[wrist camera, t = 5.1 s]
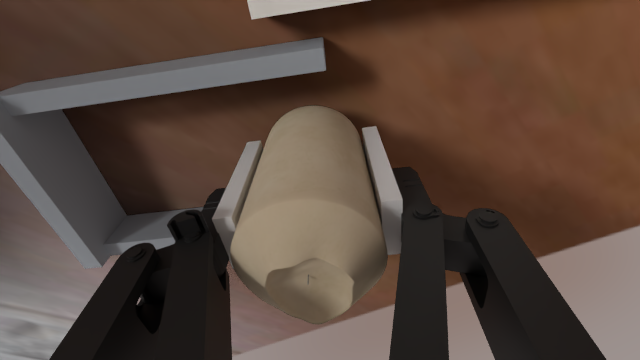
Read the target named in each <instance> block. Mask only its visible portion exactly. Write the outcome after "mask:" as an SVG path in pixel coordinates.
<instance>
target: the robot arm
mask: <svg viewBox="0 0 640 360" xmlns="http://www.w3.org/2000/svg"><path fill="white" fill-rule="evenodd" d="M362 136H363V149H364V153H365V157H366V162H367V166H368V170H369V174H370V178H371V183H372V187H373V191H374V195H375V199H376V203H377V208H378V212H379V216H380V220H381V224H382V229H383V233H384V237H385V241H386V246H387V254H388V255H392V254H400V263H399V273H398V282H397V291H396V301H395V310H394V319H393V329H392V339H391V347H390V357H389V360H449V353H448V352H449V351H448V327H447V305H446V280H445V270H450V271H456V272H460V275H461V277H462V280H463V282H464V285H465V287H466V289H467V292H468V295H469V297H470V299H471V302H472V304H473V307H474V309H475V312H476V314H477V316H478V319H479V321H480V324H481V326H482V329H483V331H484V334H485V336H486V338H487V341H488V343H489V346H490V348H491V350H492V353H493V355H494V358H495V360H606V358H605V357H604V355H603V354H602V353H601V351H600V350H599V348H598V347H597V345H596V344H595V343H594V341H593V340H592V339H591V337H590V335H589V334H588V333H587V331H586V330H585V328H584V327H583V325H582V324H581V322H580V321H579V320H578V318H577V317H576V316H575V314H574V313H573V311H572V310H571V308H570V307H569V305H568V304H567V303H566V301H565V300H564V299H563V297H562V296H561V294H560V292H558V290H557V288H556V287H555V285H554V284H553V282H552V281H551V280H550V278H549V277H548V275H547V274H546V272H545V271H544V270H543V268H542V267H541V265H540V264H539V262H538V261H537V260H536V258H535V257H534V255H533V254H532V252H531V251H530V250H529V248H528V247H527V245H526V244H525V242H524V241H523V240H522V238H521V237H520V235H519V234H518V232H517V231H516V230H515V228H514V227H513V225H512V224H511V222H510V221H509V220H508V218H507V217H506V216H504V215H503V214H502V213H500V212H498V211H496V210H492V209H487V208H479V209H474V210H472V211H470V212H469V213H468V215H467V217H466V218H463V217H454V216H449V215H446V214H443V213H442V211H441V210H440V209H439V208H438V207H437V206H435V205H433V204H432V203H431V201H430V199H429V197H428V195H427V193H426V190H425V188H424V186H423V185H422V182H421V180H420V178H419V176H418V174H417V172H416V171H414V170H413V169H412V168H410V167H402V168H393V169H391V166H390V163H389V160H388V158H387V155H386V152H385V149H384V146H383V144H382V141H381V138H380V135H379V133H378V130H377V127H376V126H373V127H365V128H362ZM262 152H263V147H262V143H261V140H260V141H252V142H247V144H246V146H245V148H244V151H243V153H242V155H241V157H240V159H239V161H238V164H237V166H236V168H235V170H234V172H233V174H232V177H231V179H230V181H229V183H228V185H227V187H226V188H221V189H216V190H215V191H214V192H213V193H212V194H211V195H210V196H209V197H208V199H207V201H206V204H205V205H204V207H203V210H202V211H201V212H200V211H199V210H194V209H192V210H186V211H183V212H181V213H179V214H177V215H175V216H174V217H173V218H171V219H170V220H169V222H168V224H167V227H168V229H169V230H170V232H171V234H172V236H173V238H174V240H175V244H172V245H170V246H167V247H164V248H160V249H157V250H156V249H155V247H154V245H153V244H151V243H140V244H137V245H134V246H132V247H130V248H129V249H127V250H126V251H125V252H123V254H122V255H121V256H120V257H119V258H118V260H117V261H116V263H115V264H114V266H113V267H112V268H111V270H110V271H109V273H108V274H107V276H106V277H105V279H104V280H103V282H102V283H101V285H100V286H99V288H98V289H97V290H96V292H95V293H94V295H93V296H92V298H91V299H90V301H89V302H88V304H87V305H86V307H85V308H84V309H83V311H82V312H81V314H80V315H79V317H78V318H77V320H76V321H75V323H74V324H73V326H72V327H71V329H70V330H69V331H68V333H67V334H66V336H65V337H64V339H63V340H62V342H61V343H60V345H59V346H58V348H57V349H56V350H55V352H54V353H53V355H52V356H51V358H50V359H49V360H232V347H231V318H230V289H229V275H228V272H227V269H226V267H227V264H228V261H230V264H231V266H232V268H233V265H232V261H231V257H230V248H231V242H232V239H233V236H234V233H235V230H236V227H237V224H238V221H239V219H240V216H241V213H242V210H243V207H244V204H245V201H246V198H247V195H248V193H249V190H250V187H251V184H252V181H253V178H254V175H255V172H256V169H257V167H258V164H259V161H260V158H261V155H262ZM233 269H234V268H233ZM139 297H140V298H141V300H140V302H139V304H138V305H136V304H137V301H138V299H139Z"/></svg>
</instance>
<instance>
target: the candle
mask: <svg viewBox="0 0 640 360" xmlns="http://www.w3.org/2000/svg"><path fill="white" fill-rule="evenodd" d="M230 257H231V261H232V265H233V268H234V270H235V272H236V274H237V275H238V277H239V278H240V279H241V281H242V282H243V283H244V284H245V285H246V286H247V288H249V289H250V290H251V291H252V292H253V293H254V294H255V295H257V296H258V297H259V298H260V299H262V300H263V301H265V302H266V303H268V304H270V305H272V306H274V307H275V308H277V309H279V310H281V311H283V312H284V313H286V314H288V315H290V316H292V317H295V318H299V319H302V320H304V321H306V322H309V323H312V324H323V323H326V322H328V321H330V320H332V319H333V318H335V317H337V316H339V315H341V314H343V313H344V312H346V311H347V310H348V309H349V308H350V307H351V306H352V305H353V304H354V303H355V302H357V301H358V300H359V299H360V298H361V297H362V296H364V295H365V294H366V293H367V292H368V291H369V290H370V289H371V288H372V287H373V286H374V285H375V284H376V283H377V282H378V281H379V279H380V278H381V276H382V274H383V273H384V270H385V267H386V264H387V258H388V254H387V246H386V241H385V237H384V233H383V229H382V224H381V220H380V216H379V212H378V208H377V203H376V199H375V195H374V191H373V187H372V183H371V178H370V174H369V170H368V166H367V162H366V157H365V153H364V149H363V145H362V142H361V138H360V136H359V133H358V131H357V129H356V128H355V126H354V125H353V124H352V122H351V121H350V120H349V119H348V118H347V117H346V116H344V115H343V114H342V113H340V112H338V111H336V110H334V109H331V108H328V107H325V106H318V105H310V106H303V107H299V108H296V109H294V110H291V111H290V112H288V113H286V114H285V115H284V116H282V117H281V118H280V119H279V120H278V121H277V122H276V123H275V125H274V126H273V128H272V129H271V131H270V133H269V136H268V138H267V141H266V144H265V146H264V149H263V152H262V155H261V158H260V161H259V164H258V167H257V169H256V172H255V175H254V178H253V181H252V184H251V187H250V190H249V193H248V195H247V198H246V201H245V204H244V207H243V210H242V213H241V216H240V219H239V221H238V224H237V227H236V230H235V233H234V236H233V239H232V242H231V248H230Z"/></svg>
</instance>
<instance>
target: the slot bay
mask: <svg viewBox="0 0 640 360" xmlns="http://www.w3.org/2000/svg"><path fill="white" fill-rule="evenodd" d="M320 71H326V58H325V49H324V41H323V37H320V38H313V39H307V40H300V41H294V42H287V43H281V44H274V45H268V46H261V47H255V48H248V49H242V50H235V51H229V52H222V53H216V54H209V55H203V56H196V57H190V58H183V59H177V60H170V61H164V62H157V63H151V64H145V65H138V66H132V67H125V68H119V69H112V70H106V71H99V72H93V73H86V74H80V75H73V76H67V77H60V78H54V79H47V80H41V81H34V82H28V83H23V84H20V85H17V86H14V87H12V88H9V89H6V90H3V91H0V164H1V165H2V166H3V168H4V169H5V170H6V171H7V172H8V174H9V175H10V176H11V177H12V179H13V180H14V181H15V182H16V184H17V185H18V186H19V187H20V189H21V190H22V191H23V192H24V194H25V195H26V196H27V197H28V199H29V200H30V201H31V202H32V204H33V205H34V206H35V207H36V208H37V210H38V211H39V212H40V213H41V215H42V216H43V217H44V218H45V220H46V221H47V222H48V223H49V225H50V226H51V227H52V228H53V230H54V231H55V232H56V233H57V235H58V236H59V237H60V238H61V240H62V241H63V242H64V243H65V244H66V246H67V247H68V248H69V249H70V251H71V252H72V253H73V254H74V256H75V257H76V258H77V259H78V261H79V262H80V263H81V264H82V266H83V267H84V268H85V269H86V268H96V267H102V266H103V265H104V264H105V262H106V261H107V260H108V259H109V257H110V256H111V255H120V254H123V252H125V251H126V250H127V249H129V248H130V247H132V246H134V245H137V244H140V243H151V244H153V245H154V247H155V249H156V250H157V249H160V248H164V247H167V246H170V245H172V244H175V240H174V238H173V236H172V234H171V232H170V230H169V229H168V227H167V224H168V222H169V220H170V219H171V218H173V217H174V216H175V215H177V214H179V213H181V212H183V211H186V210H192V209H194V210H199V211H200V212H201V211H202V210H203V207H199V208H190V209H181V210H173V211H164V212H155V213H146V214H137V215H129V216H127V215H126V213H125V211H124V210H123V208H122V207H121V205H120V203H119V202H118V200H117V198H116V197H115V195H114V194H113V192H112V190H111V189H110V187H109V185H108V184H107V182H106V181H105V179H104V177H103V176H102V174H101V172H100V171H99V169H98V168H97V166H96V164H95V163H94V161H93V159H92V158H91V156H90V155H89V153H88V151H87V150H86V148H85V146H84V145H83V143H82V142H81V140H80V138H79V137H78V135H77V133H76V132H75V130H74V129H73V127H72V125H71V124H70V122H69V120H68V119H67V117H66V116H65V114H64V112H63V111H62V109H65V108H72V107H79V106H86V105H92V104H99V103H106V102H113V101H120V100H127V99H134V98H141V97H148V96H154V95H161V94H168V93H175V92H182V91H189V90H196V89H203V88H209V87H216V86H223V85H230V84H237V83H244V82H251V81H258V80H265V79H271V78H278V77H285V76H292V75H299V74H306V73H313V72H320Z"/></svg>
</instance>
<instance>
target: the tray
mask: <svg viewBox="0 0 640 360" xmlns="http://www.w3.org/2000/svg"><path fill="white" fill-rule="evenodd" d="M363 1H369V0H247V2H248V6H249V10H250V15H251V19H257V18H264V17H270V16H276V15H282V14H288V13H295V12H301V11H307V10H313V9H319V8H326V7H332V6H338V5H344V4H350V3H356V2H363Z"/></svg>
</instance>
